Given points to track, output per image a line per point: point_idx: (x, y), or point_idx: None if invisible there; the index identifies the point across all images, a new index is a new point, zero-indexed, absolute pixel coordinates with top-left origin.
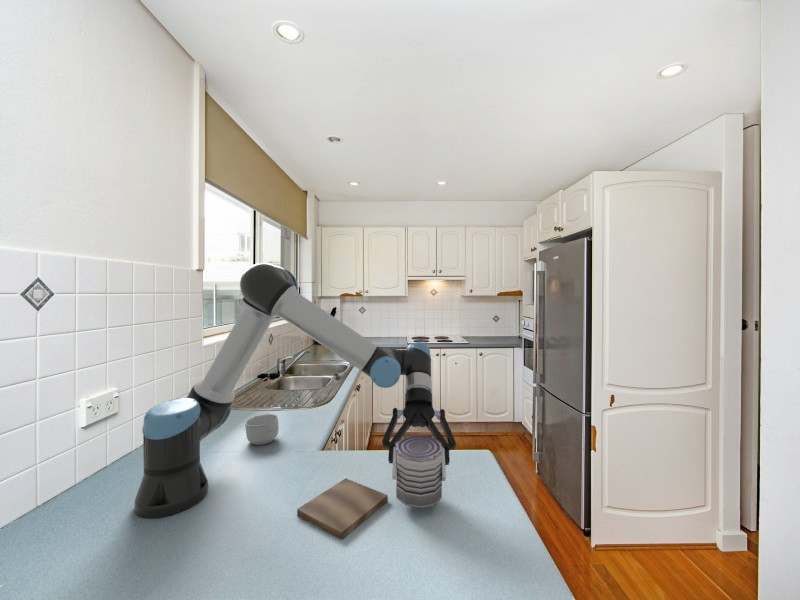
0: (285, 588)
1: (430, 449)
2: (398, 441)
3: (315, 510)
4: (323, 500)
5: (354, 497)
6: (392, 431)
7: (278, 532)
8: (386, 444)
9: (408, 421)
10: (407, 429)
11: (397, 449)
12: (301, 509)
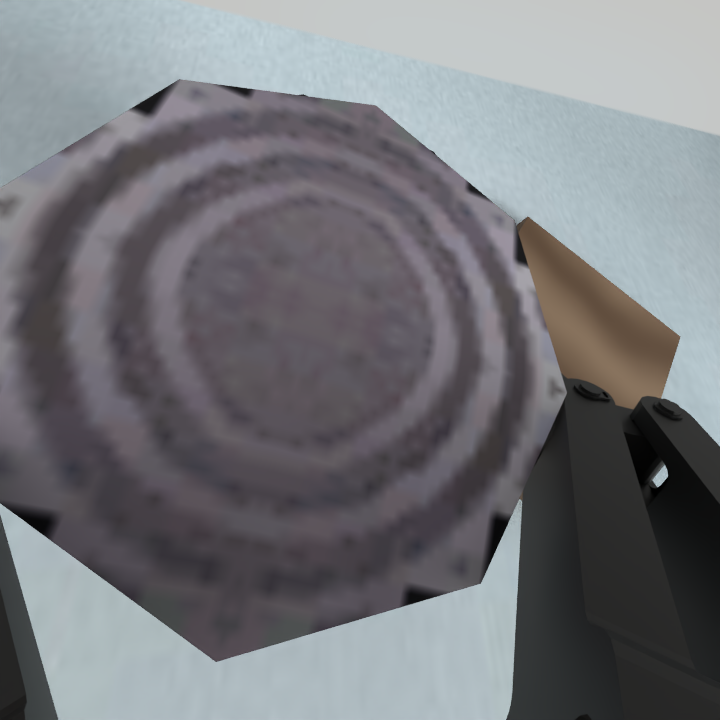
0: (576, 109)
1: (179, 226)
2: (544, 426)
3: (631, 326)
4: (630, 381)
5: None
6: (686, 591)
7: (667, 275)
8: (623, 412)
9: (651, 697)
10: (517, 696)
11: (522, 275)
12: (668, 334)
